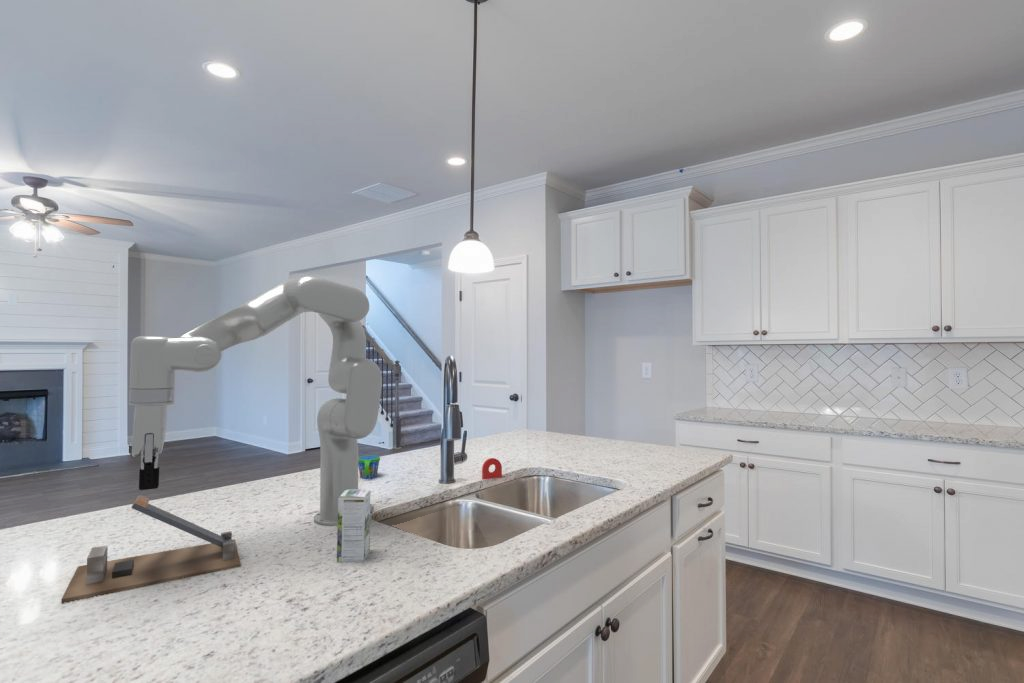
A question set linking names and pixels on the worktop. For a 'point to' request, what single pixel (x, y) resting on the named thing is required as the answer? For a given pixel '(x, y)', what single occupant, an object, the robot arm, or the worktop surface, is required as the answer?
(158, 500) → the worktop surface
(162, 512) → the strap
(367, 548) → the syrup box
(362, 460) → the snack cup
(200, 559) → the latch board
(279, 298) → the robot arm
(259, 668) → the worktop surface
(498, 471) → the bracket
